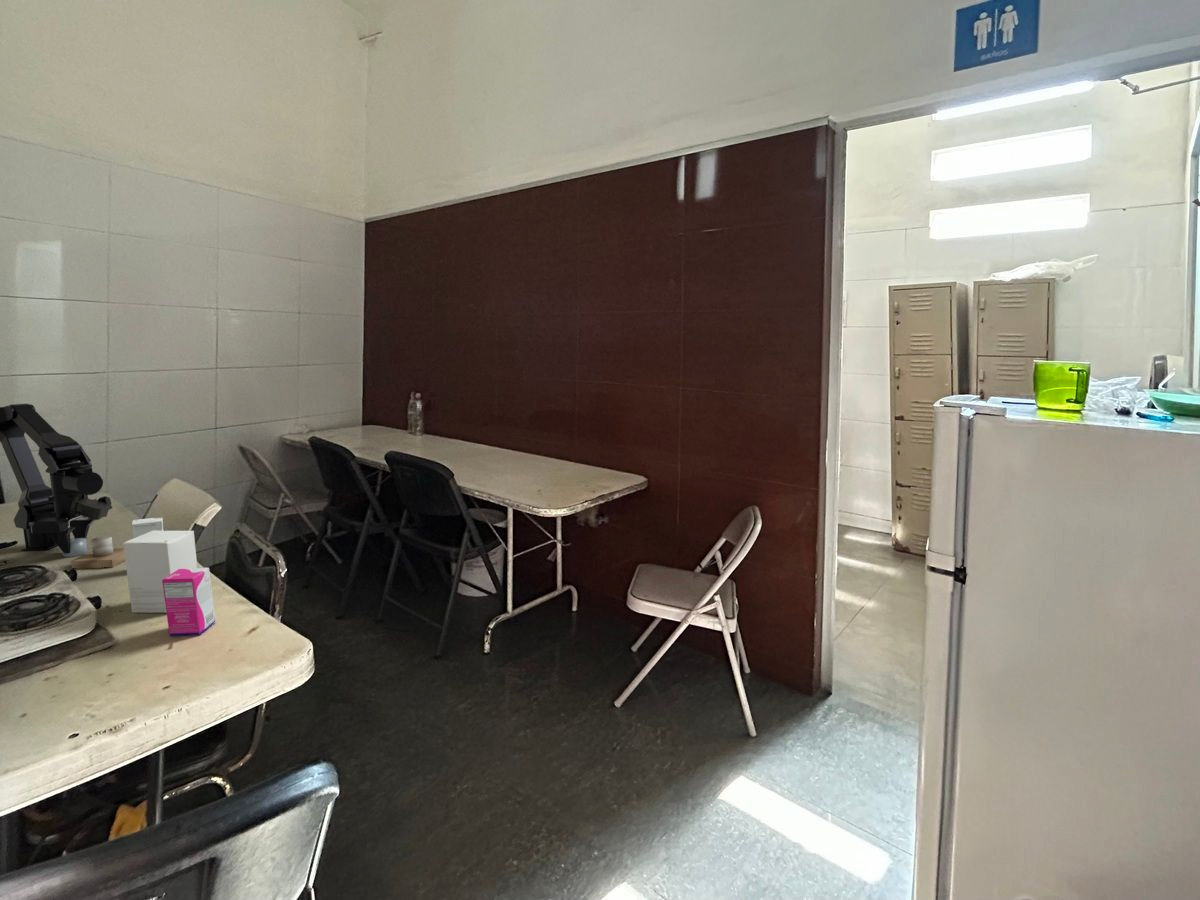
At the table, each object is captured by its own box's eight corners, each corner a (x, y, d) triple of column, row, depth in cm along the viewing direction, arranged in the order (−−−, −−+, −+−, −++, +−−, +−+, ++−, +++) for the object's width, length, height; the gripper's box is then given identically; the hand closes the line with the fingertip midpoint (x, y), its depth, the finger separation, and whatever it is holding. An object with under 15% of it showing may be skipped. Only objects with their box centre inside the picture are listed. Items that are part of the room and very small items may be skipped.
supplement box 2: (185, 623, 123) (179, 567, 121) (216, 622, 123) (211, 567, 121) (167, 636, 117) (161, 578, 115) (200, 636, 117) (194, 577, 116)
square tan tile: (71, 568, 151) (68, 544, 150) (96, 556, 159) (93, 533, 158) (112, 567, 152) (109, 543, 151) (134, 555, 161) (132, 532, 160)
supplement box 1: (202, 596, 136) (196, 529, 133) (174, 613, 127) (167, 542, 124) (160, 595, 136) (153, 529, 133) (129, 613, 127) (121, 542, 124)
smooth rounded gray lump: (57, 557, 158) (55, 544, 158) (71, 551, 163) (69, 538, 163) (79, 556, 159) (77, 543, 158) (92, 550, 164) (90, 537, 163)
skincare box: (135, 573, 148) (129, 524, 146) (136, 568, 152) (131, 519, 150) (166, 569, 151) (161, 520, 149) (167, 563, 155) (162, 516, 153)
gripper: (76, 499, 150) (84, 561, 153) (124, 482, 168) (130, 538, 171) (25, 499, 149) (33, 562, 151) (78, 483, 167) (85, 539, 170)
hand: (74, 549), depth 161 cm, fingers closed on smooth rounded gray lump, 5 cm apart
